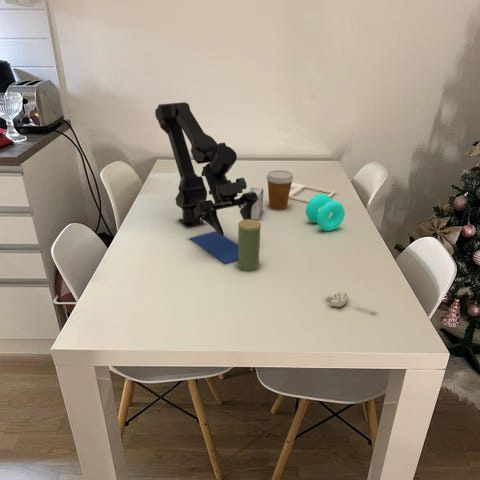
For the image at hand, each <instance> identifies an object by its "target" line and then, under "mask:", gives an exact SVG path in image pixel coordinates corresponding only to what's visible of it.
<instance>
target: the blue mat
mask: <svg viewBox="0 0 480 480" xmlns="http://www.w3.org/2000/svg"><path fill="white" fill-rule="evenodd" d="M189 240H190V241H192V242H193V243H194V244H196V245H198V246H199V247H200V248H201V249H202V250H204V251H206V252H207V253H209V254H210V255H211V256H213V257H214V258H216V259H217V260H218V261H219V262H221V263H222V264H224V265H226V264H227V265H228V264H231V263H233V262H238V243H235V241H233V240H232V239H230V238H228V237H227V236H225V235H223V236H221V235H220V234H219V233H218V232H217V231H216V230H214V231H212V232H208V233H204V234H200V235H196V236H192V237H189Z"/></svg>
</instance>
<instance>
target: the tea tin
mask: <svg viewBox="0 0 480 480" xmlns="http://www.w3.org/2000/svg"><path fill="white" fill-rule="evenodd" d="M261 228H262V223H261V222H260V221H258V220H257V219H246V220H243V219H242V220H240V221H238V228H237V229H238V231H237V234H238V235H237V236H238V237H237V245H238V260H237V268H238V269H239V270H241V271H245V272H252V271H253V272H254V271H256V270H258V269H259V266H260V245H261V244H260V243H261Z"/></svg>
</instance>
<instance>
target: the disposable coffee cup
mask: <svg viewBox="0 0 480 480" xmlns="http://www.w3.org/2000/svg"><path fill="white" fill-rule="evenodd" d="M265 178H266V180H267V191H268V204H269V205H268V207H269V208H270V209H272V210H275V211H281V210H282V211H283V210H286V209H287V208H288V202H289V199H290V198H289V193H290V188H291V184H292V183H293V181H294V176H293V173H292V172H291V171H288V170H281V169H278V170H275V169H274V170H271V171H268V173H267V175H266V177H265Z"/></svg>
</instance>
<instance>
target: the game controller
mask: <svg viewBox="0 0 480 480" xmlns="http://www.w3.org/2000/svg"><path fill="white" fill-rule="evenodd" d="M328 301H330V306H332V307H342V306H344V305H346V304H347V303H349V304H350V302H349V294H348V293H346V292H343V291H338V292H337V294H329V295H328ZM351 304H356V305H357V306H359V304H358V303H356V302H351ZM364 310H365V311H366V310H367V308H365V309H364ZM368 310H369V311H372V312H373V310H372V309H370V308H368Z"/></svg>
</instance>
